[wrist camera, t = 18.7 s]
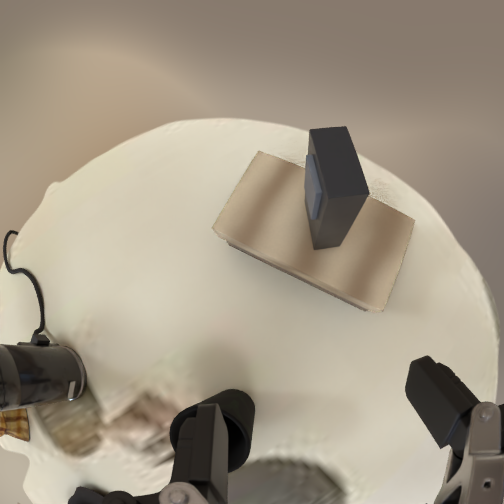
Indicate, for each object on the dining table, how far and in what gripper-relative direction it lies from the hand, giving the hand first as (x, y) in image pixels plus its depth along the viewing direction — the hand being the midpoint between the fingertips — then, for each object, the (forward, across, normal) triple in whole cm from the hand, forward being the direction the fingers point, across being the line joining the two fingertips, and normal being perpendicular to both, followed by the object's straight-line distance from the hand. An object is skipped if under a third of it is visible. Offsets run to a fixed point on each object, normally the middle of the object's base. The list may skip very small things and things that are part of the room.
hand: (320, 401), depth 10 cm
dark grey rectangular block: (+20, -6, -3) cm, 21 cm away
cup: (+18, +7, +19) cm, 27 cm away
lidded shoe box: (+27, -6, +1) cm, 28 cm away
